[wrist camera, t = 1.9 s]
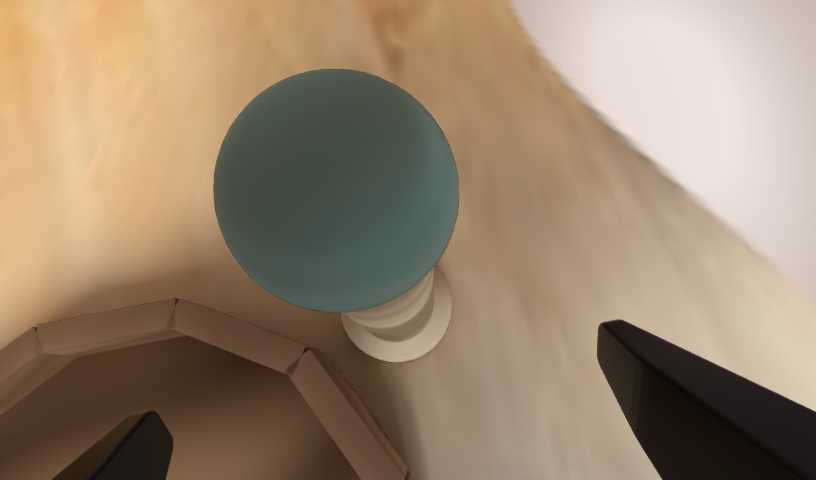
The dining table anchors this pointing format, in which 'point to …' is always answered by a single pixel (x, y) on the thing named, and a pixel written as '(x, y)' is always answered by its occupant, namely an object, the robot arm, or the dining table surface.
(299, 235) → the bead post
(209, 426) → the walnut tray
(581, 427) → the dining table surface
